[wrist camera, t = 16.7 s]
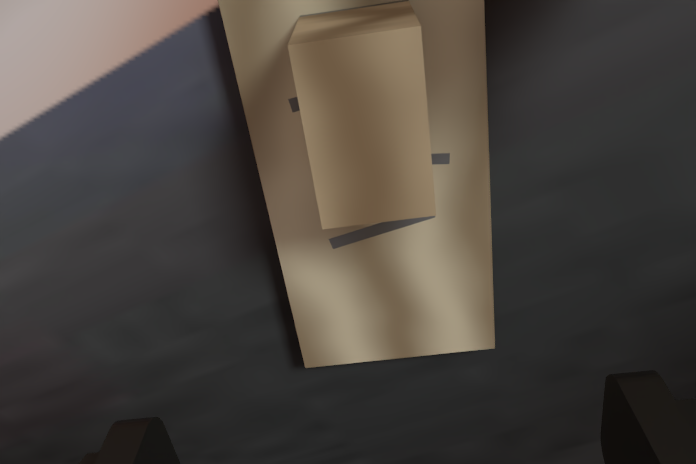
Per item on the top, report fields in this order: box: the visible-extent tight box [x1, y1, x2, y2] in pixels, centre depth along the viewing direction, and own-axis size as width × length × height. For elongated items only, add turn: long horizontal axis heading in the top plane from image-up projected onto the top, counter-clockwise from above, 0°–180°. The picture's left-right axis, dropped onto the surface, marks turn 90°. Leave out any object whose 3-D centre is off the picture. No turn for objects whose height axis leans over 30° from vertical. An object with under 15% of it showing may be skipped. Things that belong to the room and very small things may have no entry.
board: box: [218, 0, 495, 368], centre depth 33 cm, size 12×25×2 cm, turn 8°
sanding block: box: [288, 0, 436, 229], centre depth 27 cm, size 5×8×6 cm, turn 8°
